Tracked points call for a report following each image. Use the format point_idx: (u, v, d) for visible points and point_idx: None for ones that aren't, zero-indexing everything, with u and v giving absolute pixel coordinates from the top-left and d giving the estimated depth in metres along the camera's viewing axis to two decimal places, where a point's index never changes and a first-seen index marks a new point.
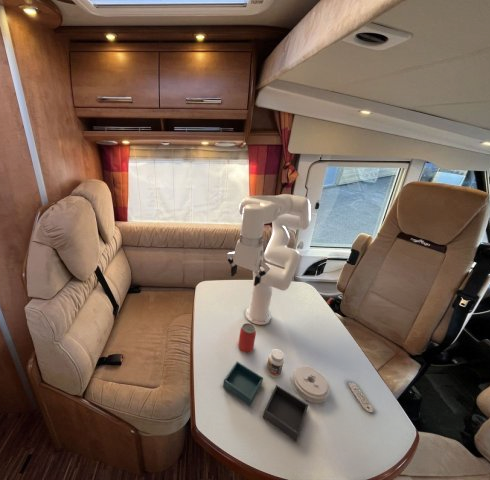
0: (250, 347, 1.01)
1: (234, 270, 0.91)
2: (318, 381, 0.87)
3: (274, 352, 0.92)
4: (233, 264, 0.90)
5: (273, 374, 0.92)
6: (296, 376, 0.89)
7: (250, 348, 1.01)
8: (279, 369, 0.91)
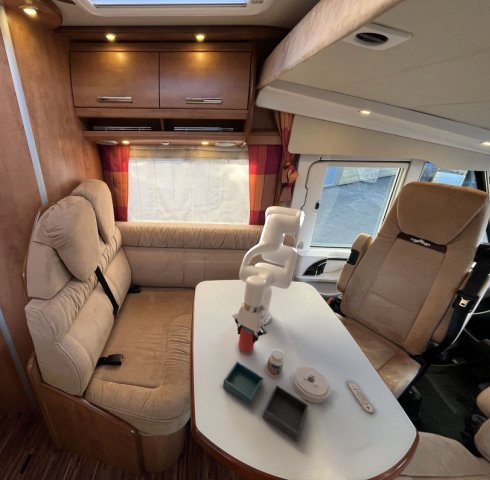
0: (250, 347, 1.01)
1: (240, 329, 1.02)
2: (318, 381, 0.87)
3: (274, 352, 0.92)
4: (239, 325, 1.01)
5: (273, 374, 0.92)
6: (296, 376, 0.89)
7: (250, 348, 1.01)
8: (279, 369, 0.91)
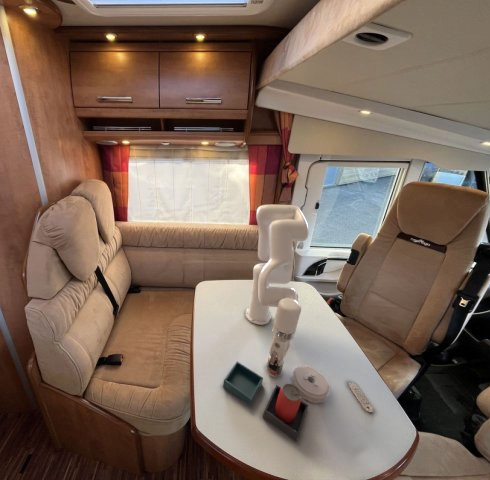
0: (293, 416, 0.76)
1: None
2: (318, 381, 0.87)
3: None
4: None
5: (273, 374, 0.92)
6: (296, 376, 0.89)
7: (293, 417, 0.76)
8: (279, 369, 0.91)
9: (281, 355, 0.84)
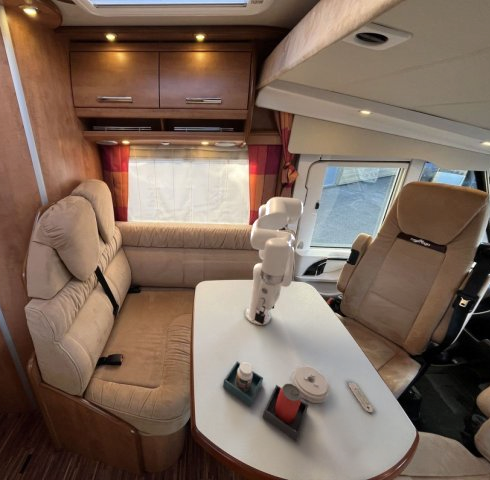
0: (293, 416, 0.76)
1: None
2: (318, 381, 0.87)
3: (242, 365, 0.86)
4: None
5: (241, 389, 0.86)
6: (296, 376, 0.89)
7: (293, 417, 0.76)
8: (247, 384, 0.85)
9: (269, 302, 0.76)
